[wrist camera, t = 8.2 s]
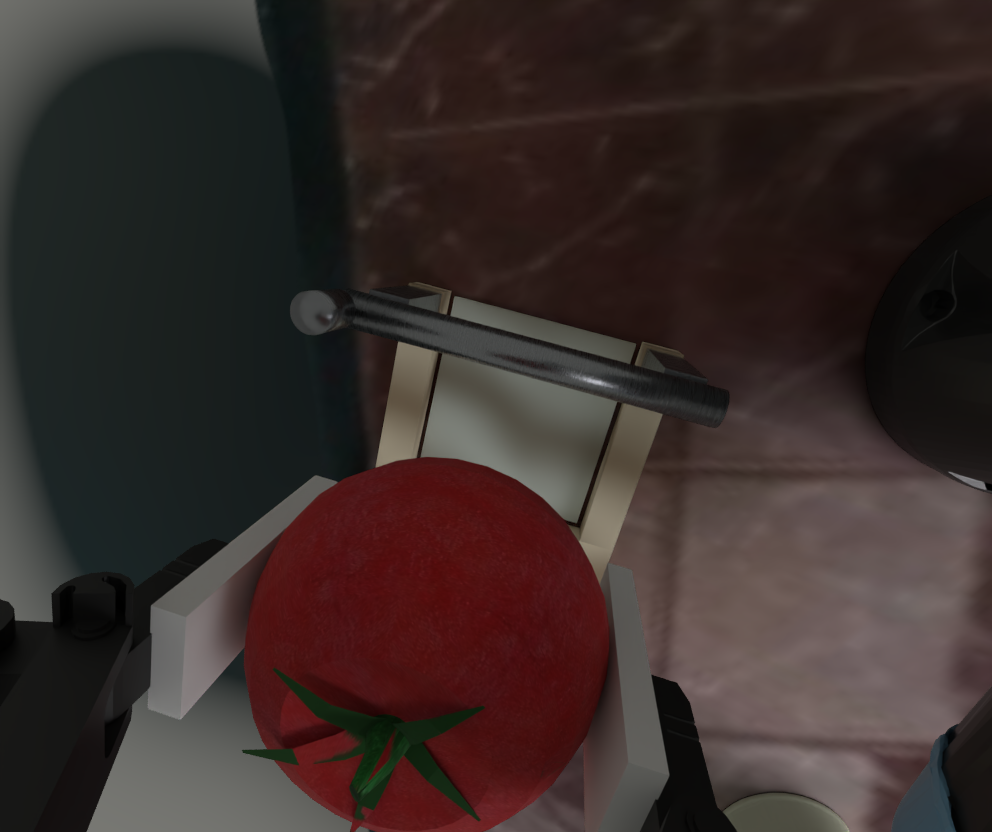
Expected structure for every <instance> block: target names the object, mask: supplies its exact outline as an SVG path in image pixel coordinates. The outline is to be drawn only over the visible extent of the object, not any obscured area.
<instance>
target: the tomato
mask: <svg viewBox="0 0 992 832" xmlns="http://www.w3.org/2000/svg"><path fill="white" fill-rule="evenodd" d="M608 657H609V622H608V615H607V609H606V602H605V597H604V594H603V592H602V589H601V587H600V584H599V582H598V579H597V577H596V574H595V572H594V569H593V567H592V565H591V563H590V561H589V559H588V557H587V555H586V553H585V552H584V550H583V548H582V546H581V544H580V543H579V541H578V540H577V538H576V537H575V535H574V534H573V532H572V530H571V529H570V527H569V526H568V524H567V523H566V521H565V520H564V519H563V518H562V517H561V516H560V515H559V514H558V513H557V512H556V511H555V510H554V509H553V508H552V507H551V506H550V505H549V504H548V503H547V502H546V501H545V500H544V499H543V498H542V497H541V496H540V495H538V494H537V493H535V492H534V491H532V490H531V489H529V488H528V487H527V486H525V485H524V484H522V483H521V482H519V481H518V480H517V479H514V478H512V477H510V476H508V475H506V474H503V473H501V472H499V471H497V470H494V469H492V468H490V467H488V466H484V465H480V464H476V463H472V462H468V461H464V460H460V459H455V458H438V457H421V458H413V459H405V460H398V461H394V462H391V463H388V464H385V465H382V466H379V467H376V468H373V469H370V470H368V471H365V472H362V473H359V474H356V475H353V476H350V477H347V478H345V479H343V480H342V481H340V482H338V483H337V484H335V485H334V486H332V487H330V488H329V489H327V490H325V491H324V492H322V493H321V494H319V495H318V496H317V497H316V498H315V499H314V500H313V501H312V502H311V503H310V504H309V505H308V506H307V507H306V508H305V509H304V510H303V511H302V512H301V513H300V514H299V515H298V516H297V517H296V518H295V519H294V520H293V522H292V523H291V524H290V525H289V526H288V527H287V528H286V530H285V531H284V533H283V535H282V536H281V538H280V540H279V541H278V543H277V545H276V546H275V548H274V550H273V551H272V553H271V555H270V557H269V559H268V561H267V564H266V566H265V568H264V570H263V572H262V574H261V576H260V578H259V580H258V583H257V586H256V589H255V593H254V596H253V599H252V603H251V606H250V610H249V617H248V624H247V632H246V639H245V656H244V669H245V674H246V681H247V686H248V692H249V697H250V703H251V708H252V713H253V718H254V721H255V723H256V726H257V729H258V731H259V733H260V736H261V738H262V741H263V743H264V744H265V746H266V748H267V749H263V750H242V751H243V753H246V754H251V755H255V756H259V757H263V758H268V759H272V760H275V762H276V763H277V764H278V766H279V767H280V768H281V769H282V770H283V771H284V773H285V774H286V775H287V776H288V777H289V778H290V780H291V781H292V782H293V783H294V784H295V785H297V786H298V787H299V788H300V789H301V790H302V791H304V792H305V793H306V794H307V795H308V796H309V797H310V798H312V799H313V800H314V801H316V802H317V803H319V804H321V805H322V806H323V807H325V808H327V809H328V810H330V811H331V812H333V813H334V814H336V815H338V816H340V817H342V818H344V819H346V820H348V821H350V822H352V826H351V830H350V832H355V831H356V829H357V828H358V827H359V826H361V827H365V828H367V829H370V830H373V831H377V832H483V831H486V830H489V829H491V828H492V827H494V826H496V825H498V824H500V823H501V822H503V821H505V820H507V819H508V818H510V817H512V816H513V815H515V814H516V813H518V812H519V811H521V810H522V809H524V808H525V807H527V806H528V805H530V804H531V803H533V802H534V801H535V800H536V799H537V798H538V797H539V796H540V795H541V794H543V793H544V792H545V791H546V790H547V789H548V788H549V787H550V786H551V785H552V784H553V783H554V782H555V780H556V779H557V778H558V776H559V775H560V774H561V772H562V771H563V770H564V768H565V767H566V765H567V764H568V763H569V761H570V760H571V759H572V757H573V756H574V754H575V753H576V751H577V750H578V748H579V747H580V745H581V744H582V742H583V741H584V739H585V738H586V736H587V734H588V731H589V728H590V725H591V722H592V719H593V716H594V713H595V710H596V708H597V705H598V701H599V698H600V695H601V692H602V689H603V686H604V683H605V680H606V677H607V669H608Z"/></svg>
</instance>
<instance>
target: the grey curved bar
mask: <svg viewBox="0 0 992 832" xmlns="http://www.w3.org/2000/svg"><path fill="white" fill-rule="evenodd" d="M441 298H442V293H438V292H434V291H430V290H427V289H423V288H419V287H415V286H411V285H408V286H398V287H387V288H377V289H370V292H369V294H367V293H364V292H360V291H356V290H353V289H346V290H345V291H343V290H340V289H326V290H314V291H304V292H301V293H299V294H298V295H296V296H295V297H294V299H293V301H292V303H291V306H290V315H291V318H292V321H293V323H294V325H295V326H296V327H297V328H298V329H299V330H300V331H301V332H303V333H305V334H308V335H318V334H322V333H326V332H330V331H334V330H338V329H342V328H345V327H347V328H351V329H355V330H358V331H362V332H366V333H369V334H373V335H377V336H380V337H384V338H388V339H391V340H395V341H398V342H402V343H406V344H409V345H413V346H417V347H420V348H424V349H428V350H431V351H435V352H439V353H442V354H446V355H449V356H453V357H457V358H460V359H464V360H468V361H471V362H475V363H479V364H482V365H486V366H490V367H493V368H497V369H500V370H504V371H508V372H511V373H515V374H519V375H522V376H526V377H530V378H533V379H537V380H540V381H544V382H548V383H551V384H555V385H559V386H562V387H566V388H570V389H573V390H577V391H581V392H584V393H588V394H591V395H595V396H599V397H602V398H606V399H610V400H613V401H617V402H621V403H624V404H628V405H632V406H635V407H639V408H642V409H646V410H650V411H653V412H657V413H661V414H664V415H668V416H672V417H675V418H679V419H683V420H686V421H690V422H693V423H697V424H701V425H704V426H708V427H712V428H717V427H718V426H719V425H720V424H721V422H722V420H723V419H724V417H725V414H726V412H727V408H728V404H729V392H728V390H725V389H722V388H718V387H714V386H710V385H707V382H708V379H707V378H706V377H705V376H703V375H702V374H701V373H700V372H699V371H697V370H696V369H695V368H694V367H693V366H691V365H690V364H689V363H688V362H687V361H686V360H684V359H683V358H682V357H679V356H676V355H672V354H668V353H664V352H660V351H657V350H653V349H649V348H647V350H646V353H645V356H644V359H643V362H642V365H641V367H640V366H636V365H632V364H628V363H625V362H621V361H617V360H613V359H610V358H606V357H602V356H599V355H595V354H591V353H587V352H584V351H580V350H576V349H572V348H569V347H565V346H561V345H558V344H554V343H550V342H546V341H543V340H539V339H535V338H531V337H528V336H524V335H520V334H517V333H513V332H509V331H505V330H502V329H498V328H494V327H490V326H487V325H483V324H479V323H476V322H472V321H468V320H464V319H461V318H457V317H453V316H449V315H446V314H442V313H438V312H439V307H440V302H441Z"/></svg>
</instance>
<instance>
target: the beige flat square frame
mask: <svg viewBox="0 0 992 832" xmlns="http://www.w3.org/2000/svg"><path fill="white" fill-rule="evenodd" d="M409 285H411V286H415V287H419V288H423V289H427V290H430V291H434V292H438V293H442V298H441V302H440V307H439V312H438V313H442V314H446V315H447V310H448V306H449V301H450V296H451V291H449V290H446V289H442V288H438V287H434V286H431V285H427V284H423V283H419V282H414V283H409ZM451 316H453V317H457V318H461V319H464V320H468V321H472V322H476V323H479V324H483V325H487V326H490V327H494V328H498V329H502V330H505V331H509V332H513V333H517V334H520V335H524V336H528V337H531V338H535V339H539V340H543V341H546V342H550V343H554V344H558V345H561V346H565V347H569V348H572V349H576V350H580V351H584V352H587V353H591V354H595V355H599V356H602V357H606V358H610V359H613V360H617V361H621V362H625V363H628V364H630V362H631V359H632V356H633V353H634V350H635V347H636V343H632V342H628V341H624V340H620V339H617V338H613V337H609V336H605V335H602V334H598V333H594V332H590V331H586V330H583V329H579V328H575V327H571V326H568V325H564V324H560V323H556V322H552V321H549V320H545V319H541V318H537V317H534V316H530V315H526V314H522V313H518V312H515V311H511V310H507V309H503V308H500V307H496V306H492V305H488V304H484V303H481V302H477V301H473V300H469V299H466V298H462V297H458V296H455V297H454V301H453V306H452V311H451ZM647 348H649V349H653V350H657V351H660V352H664V353H668V354H672V355H676V356H679V357H682V358H683V357H684V355H683V354H681V353H680V352H679V351H676V350H673V349H669V348H665V347H661V346H658V345H654V344H650V343H646V342H642V344H641V347H640V350H639V353H638V356H637V359H636V362H635V365H636V366H640V367H641V365H642V362H643V359H644V356H645V353H646V350H647ZM438 353H439V352H435V351H431V350H428V349H424V348H420V347H417V346H413V345H409V344H406V343H402V342H398V347H397V352H396V358H395V363H394V369H393V374H392V380H391V385H390V391H389V396H388V402H387V407H386V413H385V418H384V424H383V429H382V435H381V440H380V446H379V451H378V457H377V462H376V467H379V466H382V465H385V464H388V463H391V462H394V461H398V460H405V459H413V458H417V454H418V449H419V444H420V440H421V435H422V430H423V425H424V420H425V416H426V411H427V406H428V401H429V397H430V392H431V387H432V382H433V377H434V373H435V368H436V363H437V358H438ZM616 404H617V401H613V400H610V399H606V398H602V397H599V396H595V395H591V394H588V393H584V392H581V391H577V390H573V389H570V388H566V387H562V386H559V385H555V384H551V383H548V382H544V381H540V380H537V379H533V378H530V377H526V376H522V375H519V374H515V373H511V372H508V371H504V370H500V369H497V368H493V367H490V366H486V365H482V364H479V363H475V362H471V361H468V360H464V359H460V358H457V357H453V356H449V355H446V354H442V358H441V363H440V368H439V372H438V377H437V382H436V387H435V391H434V396H433V401H432V406H431V410H430V415H429V420H428V424H427V429H426V434H425V439H424V443H423V448H422V453H421V457H438V458H455V459H460V460H464V461H468V462H472V463H476V464H480V465H484V466H488V467H490V468H492V469H494V470H497V471H499V472H501V473H503V474H506V475H508V476H510V477H512V478H514V479H517V480H518V481H519V482H521V483H522V484H524V485H525V486H527V487H528V488H529V489H531V490H532V491H534V492H535V493H537V494H538V495H540V496H541V497H542V498H543V499H544V500H545V501H546V502H547V503H548V504H549V505H550V506H551V507H552V508H553V509H554V510H555V511H556V512H557V513H558V514H559V515H560V516H561V517H562V518H563V519H564V520H567V521H571V522H574V523H577V521H578V518H579V515H580V512H581V509H582V506H583V503H584V500H585V497H586V494H587V491H588V488H589V485H590V482H591V479H592V476H593V473H594V470H595V467H596V464H597V461H598V458H599V455H600V452H601V449H602V446H603V443H604V440H605V437H606V434H607V431H608V428H609V425H610V422H611V419H612V416H613V413H614V410H615V407H616ZM662 415H663V414H661V413H657V412H653V411H650V410H646V409H642V408H639V407H635V406H632V405H628V404H624V403H621V406H620V409H619V412H618V415H617V418H616V421H615V424H614V427H613V430H612V433H611V436H610V439H609V442H608V445H607V448H606V451H605V454H604V457H603V460H602V463H601V466H600V469H599V472H598V475H597V478H596V481H595V484H594V487H593V490H592V493H591V496H590V499H589V502H588V505H587V508H586V511H585V513H584V516H583V519H582V522H581V525H580V528H578V527H575V526H572V525H568V526H569V527H570V529H571V530H572V532H573V534H574V535H575V537H576V538H577V540H578V541H579V543H580V544H581V546H582V548H583V550H584V552H585V553H586V555H587V557H588V559H589V561H590V563H591V565H592V567H593V569H594V572H595V574H596V577H597V579H598V582H599V584H600V582H601V579H602V577H603V574H604V571H605V568H606V566H607V563H609V560H610V557H611V554H612V552H613V549H614V546H615V543H616V541H617V538H618V535H619V532H620V530H621V527H622V524H623V522H624V519H625V516H626V513H627V511H628V508H629V505H630V502H631V500H632V497H633V494H634V491H635V489H636V486H637V483H638V481H639V478H640V475H641V472H642V470H643V467H644V464H645V461H646V459H647V456H648V453H649V450H650V448H651V445H652V442H653V439H654V437H655V434H656V431H657V429H658V426H659V423H660V420H661V418H662Z"/></svg>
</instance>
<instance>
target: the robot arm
mask: <svg viewBox="0 0 992 832" xmlns="http://www.w3.org/2000/svg"><path fill="white" fill-rule="evenodd" d="M865 371H866V381H867V388H868V392H869V396H870V399H871V402H872V405H873V408H874V410H875V412H876V414H877V416H878V418H879V420H880V422H881V423H882V425H883V427H884V428H885V429H886V431H887V432H888V434H889V435H890V436H891V437H892V438H893V439H894V441H895V442H896V443H897V444H898V445H899V446H900V447H902V448H903V449H904V450H905V451H906V452H908V453H909V454H910V455H911V456H913V457H914V458H916V459H917V460H919V461H920V462H922V463H924V464H926V465H927V466H929V467H931V468H933V469H935V470H936V471H938V472H940V473H942V474H944V475H945V476H947V477H949V478H951V479H953V480H955V481H957V482H959V483H961V484H964V485H966V486H969V487H971V488H974V489H977V490H980V491H983V492H987V493H990V494H992V195H991V196H988V197H987V198H985V199H983V200H981V201H979V202H977V203H975V204H974V205H972V206H970V207H969V208H967V209H965V210H964V211H962V212H961V213H959V214H958V215H956V216H955V217H953V218H952V219H950V220H949V221H948V222H946V223H945V224H944V225H943V226H941V227H940V228H939V229H938V230H936V231H935V232H934V233H933V234H932V235H931V236H930V237H928V238H927V239H926V240H925V241H924V242H923V243H922V244H921V245H920V246H919V247H918V248H917V249H916V250H915V251H914V253H913V254H912V255H911V256H910V257H909V258H908V259H907V261H906V262H905V263H904V264H903V266H902V267H901V268H900V270H899V271H898V272H897V274H896V275H895V277H894V278H893V280H892V281H891V283H890V285H889V286H888V288H887V290H886V291H885V293H884V295H883V297H882V299H881V301H880V303H879V306H878V308H877V310H876V313H875V315H874V318H873V321H872V324H871V328H870V332H869V335H868V341H867V346H866V356H865ZM337 483H338V482H336V481H333V480H330V479H326V478H323V477H320V476H314V477H313V478H311V479H310V480H309V481H308V482H306V483H305V484H304V485H303V486H301V487H300V488H299V489H298V490H296V491H295V492H294V493H293V494H291V495H290V496H289V497H287V498H286V499H285V500H284V501H282V502H281V503H280V504H279V505H277V506H276V507H275V508H274V509H272V510H271V511H270V512H269V513H267V514H266V515H265V516H263V517H262V518H261V519H260V520H258V521H257V522H256V523H255V524H253V525H252V526H251V527H250V528H248V529H247V530H246V531H245V532H243V533H242V534H241V535H239V536H238V537H237V538H236V539H234V540H233V541H232V542H231V543H230V544H229V543H225V542H223V541H219V540H216V539H212V540H209V541H206V542H203V543H201V544H198V545H195V546H193V547H191V548H190V549H189V550H187V551H186V552H184V553H183V554H182V555H180V556H179V557H177V558H176V560H175V561H172V562H171V563H169V564H168V565H166V566H165V567H164V568H163V570H162V571H158V572H157V573H155V574H154V575H153V576H151V577H150V578H148V579H147V580H146V581H144V582H143V583H142V584H140V585H139V586H137V587H136V588H135V589H134V584H133V582H132V581H131V579H130V578H128V577H126V576H124V575H122V574H119V573H111V572H100V573H91V574H87V575H83V576H80V577H76V578H74V579H72V580H70V581H68V582H66V583H64V584H62V585H60V586H59V587H58V588H57V589H56V590H55V591H54V592H53V593H52V613H53V622H35V621H15V614H14V608H13V607H12V606H11V604H10V603H9V602H7V601H3V600H0V832H86V831H87V829H88V827H89V824H90V821H91V819H92V817H93V814H94V812H95V809H96V807H97V804H98V801H99V799H100V796H101V794H102V791H103V789H104V786H105V784H106V781H107V779H108V776H109V773H110V771H111V769H112V766H113V764H114V761H115V758H116V756H117V753H118V751H119V748H120V746H121V743H122V741H123V738H124V736H125V733H126V731H127V728H128V726H129V723H130V721H131V714H132V704H133V703H134V702H135V701H136V700H137V699H138V698H140V697H141V696H142V694H143V693H144V692H146V691H147V690H148V709H150V710H153V711H156V712H159V713H161V714H164V715H167V716H170V717H173V718H176V719H179V720H181V719H182V717H183V716H184V715H185V714H186V713H187V712H188V711H189V710H190V708H191V707H192V706H193V705H194V704H195V703H196V701H197V700H198V699H199V698H200V697H201V696H202V695H203V693H204V692H205V691H206V690H207V689H208V688H209V687H210V686H211V684H212V683H213V682H214V681H215V680H216V679H217V677H218V676H219V675H220V674H221V673H222V672H223V671H224V670H225V668H226V667H227V666H228V665H229V664H230V663H231V662H232V661H233V659H234V658H235V657H236V656H237V655H238V654H239V653H240V651H241V650H242V649H243V648H244V647H245V639H246V632H247V624H248V617H249V610H250V606H251V603H252V599H253V596H254V593H255V589H256V586H257V583H258V580H259V578H260V576H261V574H262V572H263V570H264V568H265V566H266V564H267V561H268V559H269V557H270V555H271V553H272V551H273V550H274V548H275V546H276V545H277V543H278V541H279V540H280V538H281V536H282V535H283V533H284V531H285V530H286V528H287V527H288V526H289V525H290V524H291V523H292V522H293V520H294V519H295V518H296V517H297V516H298V515H299V514H300V513H301V512H302V511H303V510H304V509H305V508H306V507H307V506H308V505H309V504H310V503H311V502H312V501H313V500H314V499H315V498H316V497H317V496H318V495H319V494H321V493H322V492H324V491H325V490H327V489H329V488H330V487H332V486H334V485H335V484H337ZM600 587H601V589H602V592H603V594H604V597H605V602H606V609H607V615H608V622H609V657H608V669H607V677H606V680H605V683H604V686H603V689H602V692H601V695H600V698H599V701H598V705H597V708H596V710H595V713H594V716H593V719H592V722H591V725H590V728H589V731H588V734H587V736H586V738H585V739H584V741H583V748H584V821H585V832H737V830H736V829H735V827H734V826H733V824H732V823H731V822H730V820H729V819H728V817H727V816H726V815H725V814H724V813H723V812H722V811H721V810H720V809H719V808H717V805H716V802H715V798H714V794H713V790H712V786H711V782H710V779H709V775H708V771H707V767H706V763H705V759H704V755H703V752H702V748H701V744H700V742H699V736H698V732H697V729H696V726H695V725H694V723H695V721H694V717H693V713H692V709H691V705H690V702H689V701H688V699H687V697H686V696H685V694H684V693H683V691H682V690H681V688H680V687H679V685H678V684H677V683H676V682H673V681H669V680H666V679H663V678H660V677H657V676H654V675H651V672H650V666H649V661H648V655H647V650H646V644H645V639H644V633H643V628H642V623H641V617H640V612H639V606H638V601H637V595H636V590H635V584H634V579H633V573H632V570H631V569H627V568H624V567H621V566H617V565H614V564H611V563H607V566H606V568H605V571H604V574H603V577H602V579H601V582H600ZM891 832H992V686H991V688H990V689H989V690H988V691H987V692H986V693H985V694H984V696H983V697H982V698H981V699H980V700H979V701H978V703H977V704H976V705H975V706H974V707H973V708H972V710H971V711H970V712H969V713H968V714H967V715H966V717H965V718H964V719H963V720H962V721H961V722H960V723H959V724H957V725H954V726H953V727H951V728H949V729H948V730H947V732H946V733H945V734H943V735H940V736H939V738H938V739H936V740H935V743H934V745H933V748H932V750H931V756H930V762H929V763H928V764H927V766H926V767H925V768H924V770H923V771H922V773H921V774H920V775H919V777H918V778H917V779H916V781H915V782H914V784H913V785H912V786H911V788H910V789H909V790H908V792H907V793H906V795H905V796H904V797H903V799H902V800H901V802H900V804H899V806H898V808H897V811H896V813H895V816H894V819H893V824H892V829H891Z"/></svg>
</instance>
